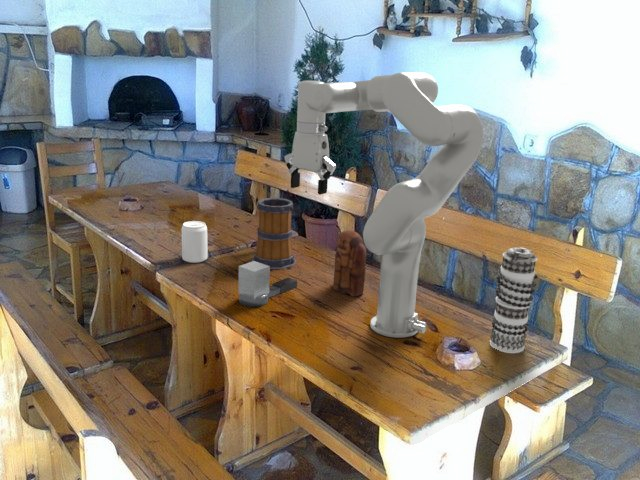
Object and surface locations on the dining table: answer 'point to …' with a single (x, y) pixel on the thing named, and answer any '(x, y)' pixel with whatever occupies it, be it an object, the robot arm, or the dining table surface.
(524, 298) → the decorative candle
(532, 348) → the dining table surface
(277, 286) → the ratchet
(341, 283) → the wooden figurine
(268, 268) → the brushed metal cube
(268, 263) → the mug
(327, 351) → the dining table surface
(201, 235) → the beverage can
